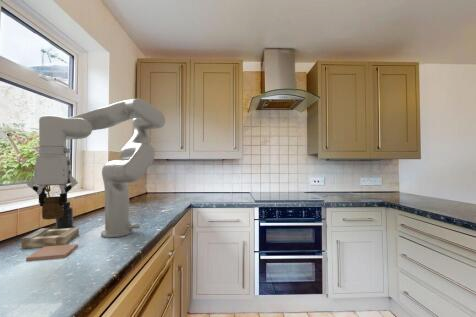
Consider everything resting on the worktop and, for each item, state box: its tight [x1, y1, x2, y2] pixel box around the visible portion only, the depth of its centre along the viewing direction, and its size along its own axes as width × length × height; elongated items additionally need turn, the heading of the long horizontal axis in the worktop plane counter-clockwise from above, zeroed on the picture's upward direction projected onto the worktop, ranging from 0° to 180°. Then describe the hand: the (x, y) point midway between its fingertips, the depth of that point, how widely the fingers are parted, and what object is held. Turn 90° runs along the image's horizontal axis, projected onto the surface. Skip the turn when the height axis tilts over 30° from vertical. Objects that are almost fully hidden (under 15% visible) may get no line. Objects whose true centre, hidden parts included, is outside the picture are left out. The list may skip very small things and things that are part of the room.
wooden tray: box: [21, 227, 80, 249], centre depth 103 cm, size 14×14×4 cm
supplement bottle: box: [55, 201, 74, 229], centre depth 123 cm, size 7×7×12 cm
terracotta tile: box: [25, 243, 79, 262], centre depth 89 cm, size 11×11×1 cm
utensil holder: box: [41, 185, 63, 220], centre depth 89 cm, size 6×6×12 cm
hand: (53, 204), depth 89 cm, fingers closed on utensil holder, 5 cm apart
